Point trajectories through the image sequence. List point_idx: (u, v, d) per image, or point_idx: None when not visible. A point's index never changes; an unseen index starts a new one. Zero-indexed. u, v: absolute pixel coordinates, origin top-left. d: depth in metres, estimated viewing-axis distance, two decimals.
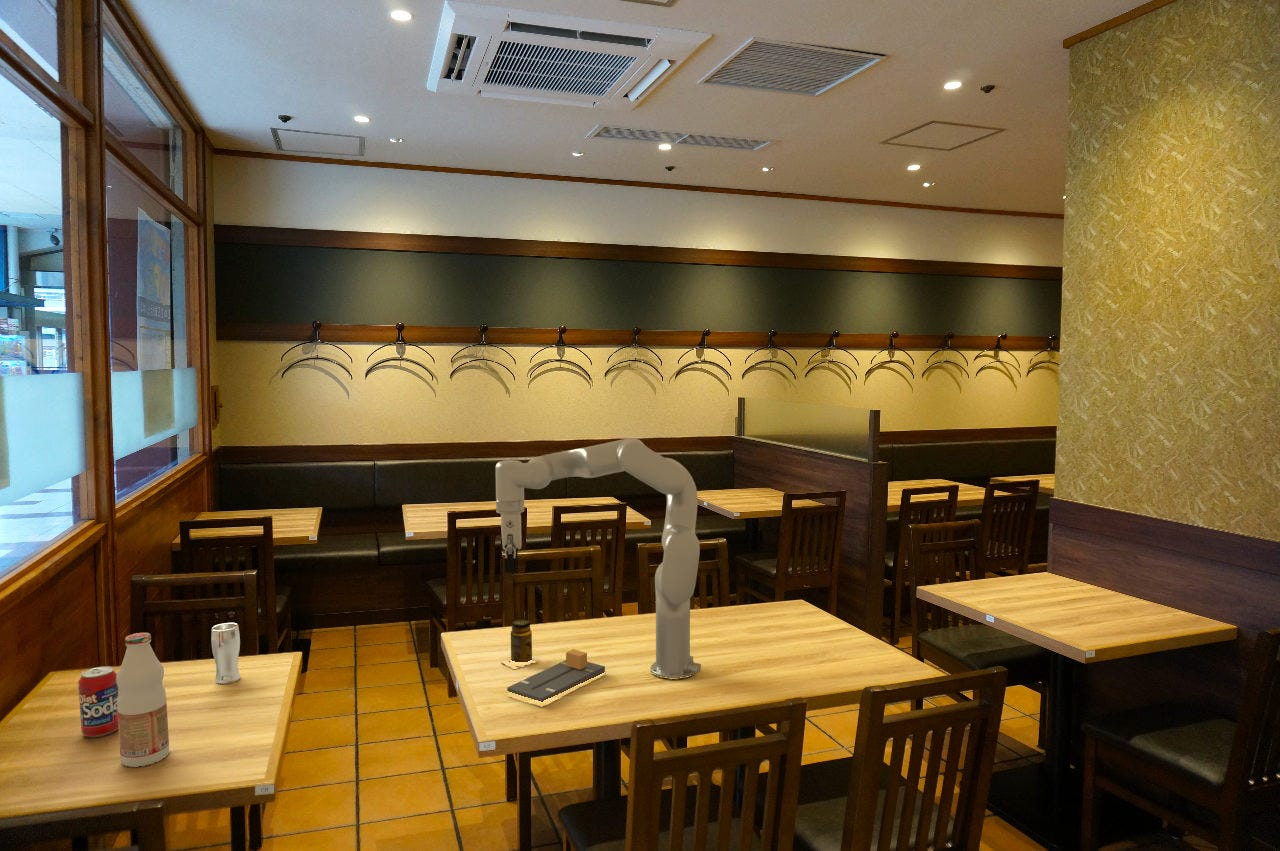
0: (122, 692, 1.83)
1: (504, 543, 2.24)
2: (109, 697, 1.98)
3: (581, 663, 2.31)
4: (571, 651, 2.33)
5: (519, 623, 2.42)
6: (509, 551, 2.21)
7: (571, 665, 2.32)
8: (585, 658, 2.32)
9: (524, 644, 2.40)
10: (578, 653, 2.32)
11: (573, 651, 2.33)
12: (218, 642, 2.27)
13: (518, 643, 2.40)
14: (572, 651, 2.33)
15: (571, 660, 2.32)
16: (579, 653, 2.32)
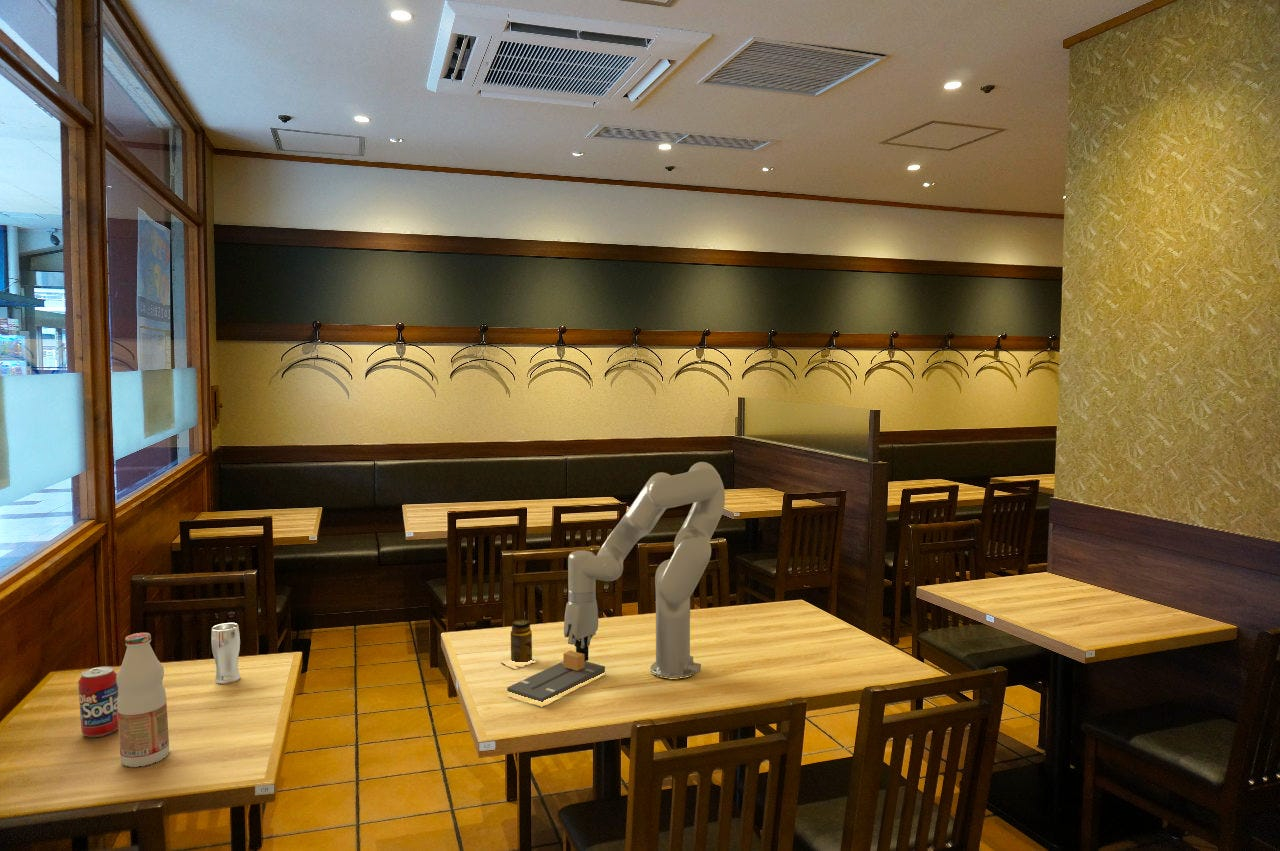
0: (122, 692, 1.83)
1: None
2: (109, 697, 1.98)
3: (578, 664, 2.30)
4: (568, 652, 2.33)
5: (519, 623, 2.42)
6: None
7: (568, 666, 2.31)
8: (582, 659, 2.31)
9: (524, 644, 2.40)
10: (576, 655, 2.31)
11: (570, 652, 2.33)
12: (218, 642, 2.27)
13: (518, 643, 2.40)
14: (569, 652, 2.33)
15: (569, 662, 2.31)
16: (576, 654, 2.31)
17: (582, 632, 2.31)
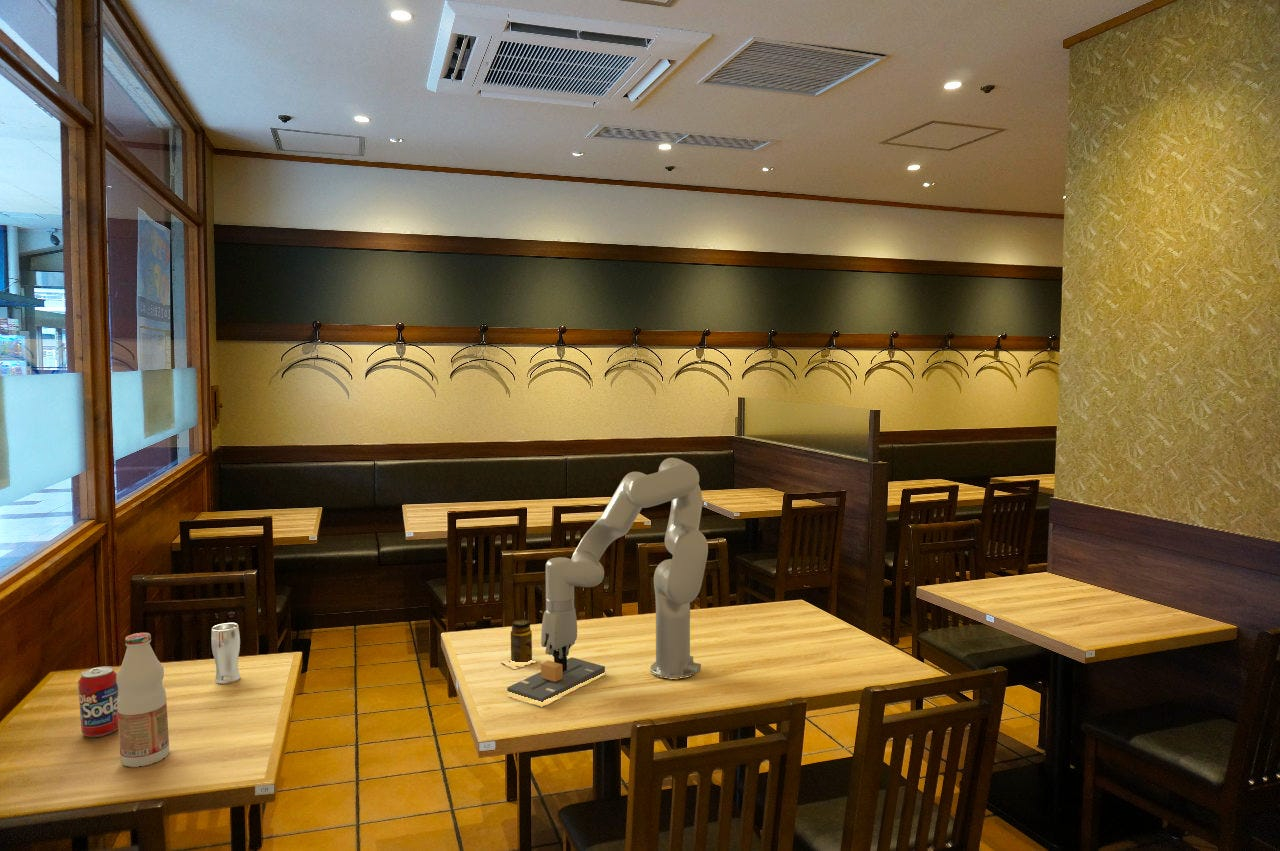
0: (122, 692, 1.83)
1: None
2: (109, 697, 1.98)
3: (556, 675, 2.22)
4: (546, 663, 2.25)
5: (519, 623, 2.42)
6: None
7: (546, 677, 2.24)
8: (560, 670, 2.24)
9: (524, 644, 2.40)
10: (554, 665, 2.23)
11: (548, 663, 2.25)
12: (218, 642, 2.27)
13: (518, 643, 2.40)
14: (547, 663, 2.25)
15: (546, 672, 2.23)
16: (554, 665, 2.24)
17: (560, 642, 2.23)
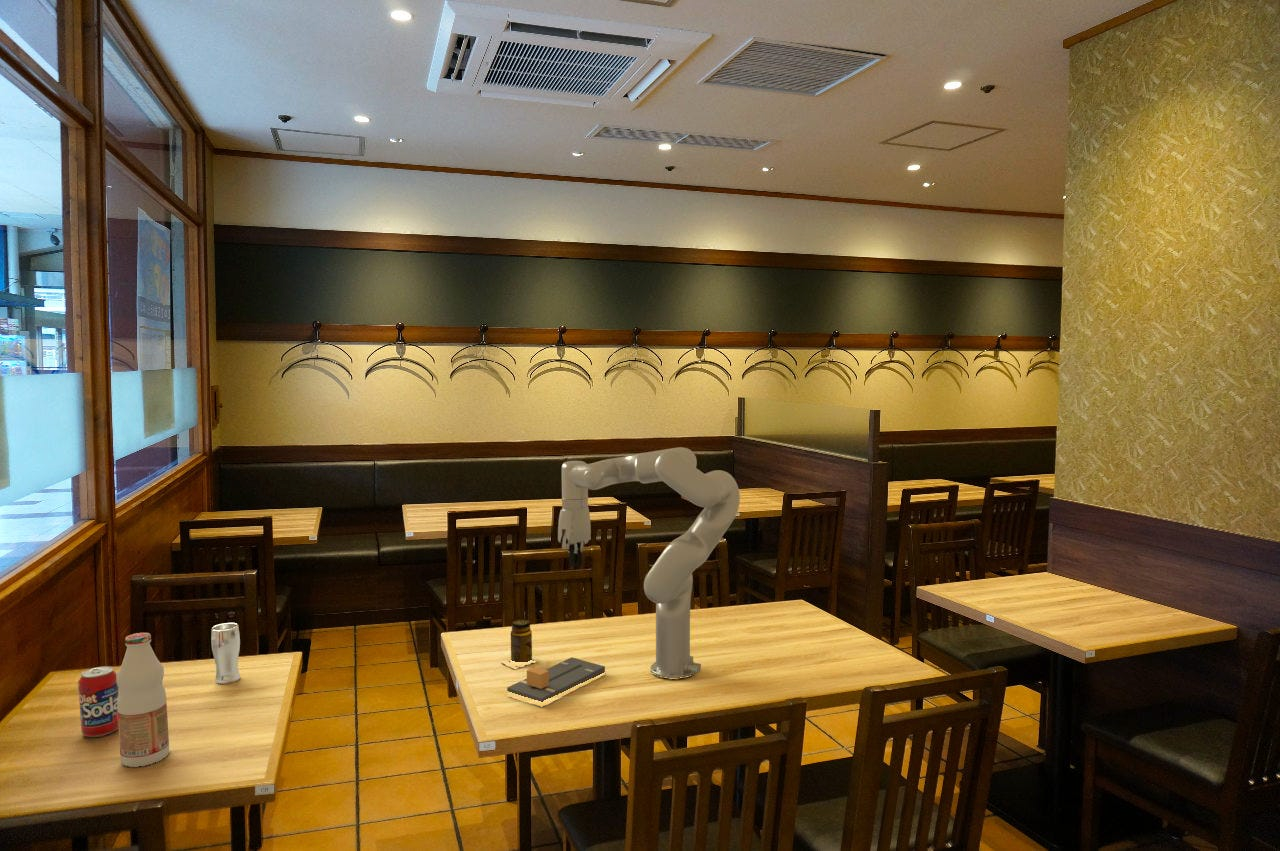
0: (122, 692, 1.83)
1: None
2: (109, 697, 1.98)
3: (542, 682, 2.18)
4: (532, 669, 2.21)
5: (519, 623, 2.42)
6: None
7: (532, 684, 2.19)
8: (547, 676, 2.19)
9: (524, 644, 2.40)
10: (540, 672, 2.19)
11: (534, 669, 2.21)
12: (218, 642, 2.27)
13: (518, 643, 2.40)
14: (533, 669, 2.21)
15: (532, 679, 2.19)
16: (540, 671, 2.19)
17: (575, 537, 2.42)
